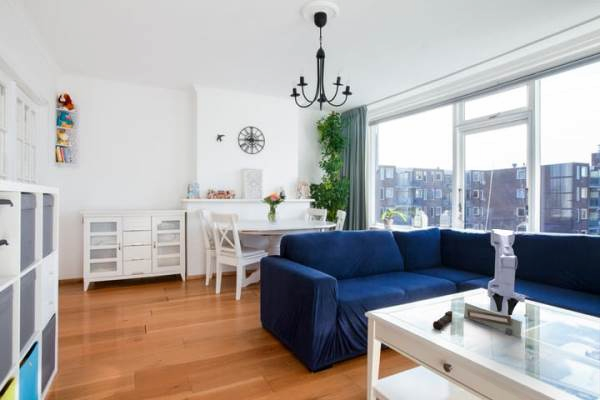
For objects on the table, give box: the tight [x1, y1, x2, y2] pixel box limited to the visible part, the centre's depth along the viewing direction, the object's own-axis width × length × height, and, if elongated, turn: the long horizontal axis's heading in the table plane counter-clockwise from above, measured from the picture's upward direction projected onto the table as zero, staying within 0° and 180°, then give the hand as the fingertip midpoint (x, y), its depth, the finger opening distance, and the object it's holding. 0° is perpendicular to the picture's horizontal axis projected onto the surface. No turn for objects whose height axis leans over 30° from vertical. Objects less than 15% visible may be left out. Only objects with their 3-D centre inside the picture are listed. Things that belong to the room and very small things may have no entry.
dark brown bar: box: [432, 310, 453, 331], centre depth 155 cm, size 19×4×5 cm, turn 135°
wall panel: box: [463, 301, 523, 338], centre depth 155 cm, size 4×26×7 cm, turn 30°
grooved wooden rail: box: [467, 309, 512, 326], centre depth 155 cm, size 1×20×4 cm, turn 30°
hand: (504, 313), depth 147 cm, fingers open, 4 cm apart
